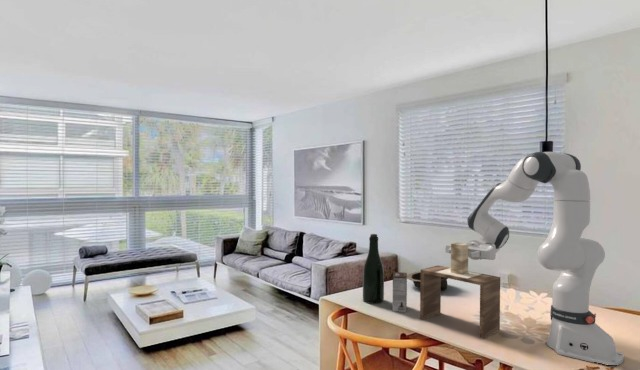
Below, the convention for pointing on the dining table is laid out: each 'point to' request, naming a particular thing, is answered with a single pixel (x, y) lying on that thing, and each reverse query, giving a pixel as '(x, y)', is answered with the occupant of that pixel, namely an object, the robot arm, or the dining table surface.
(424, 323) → the dining table surface
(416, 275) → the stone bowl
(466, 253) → the maple block
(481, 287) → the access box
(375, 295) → the green wine bottle
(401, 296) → the coffee box
